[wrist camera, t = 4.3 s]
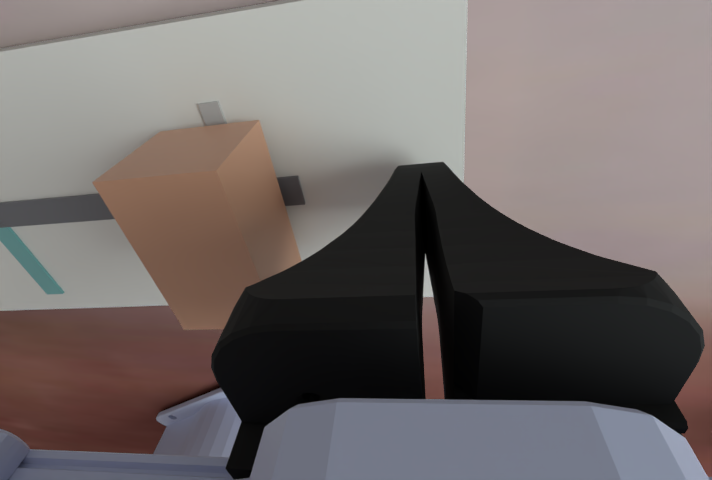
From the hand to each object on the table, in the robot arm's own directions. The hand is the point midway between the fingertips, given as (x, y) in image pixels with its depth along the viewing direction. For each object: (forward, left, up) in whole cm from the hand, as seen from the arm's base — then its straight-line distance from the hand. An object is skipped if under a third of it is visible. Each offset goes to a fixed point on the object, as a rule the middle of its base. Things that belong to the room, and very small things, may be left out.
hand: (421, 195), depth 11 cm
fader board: (-9, +5, -2) cm, 11 cm away
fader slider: (-5, +3, 0) cm, 6 cm away
